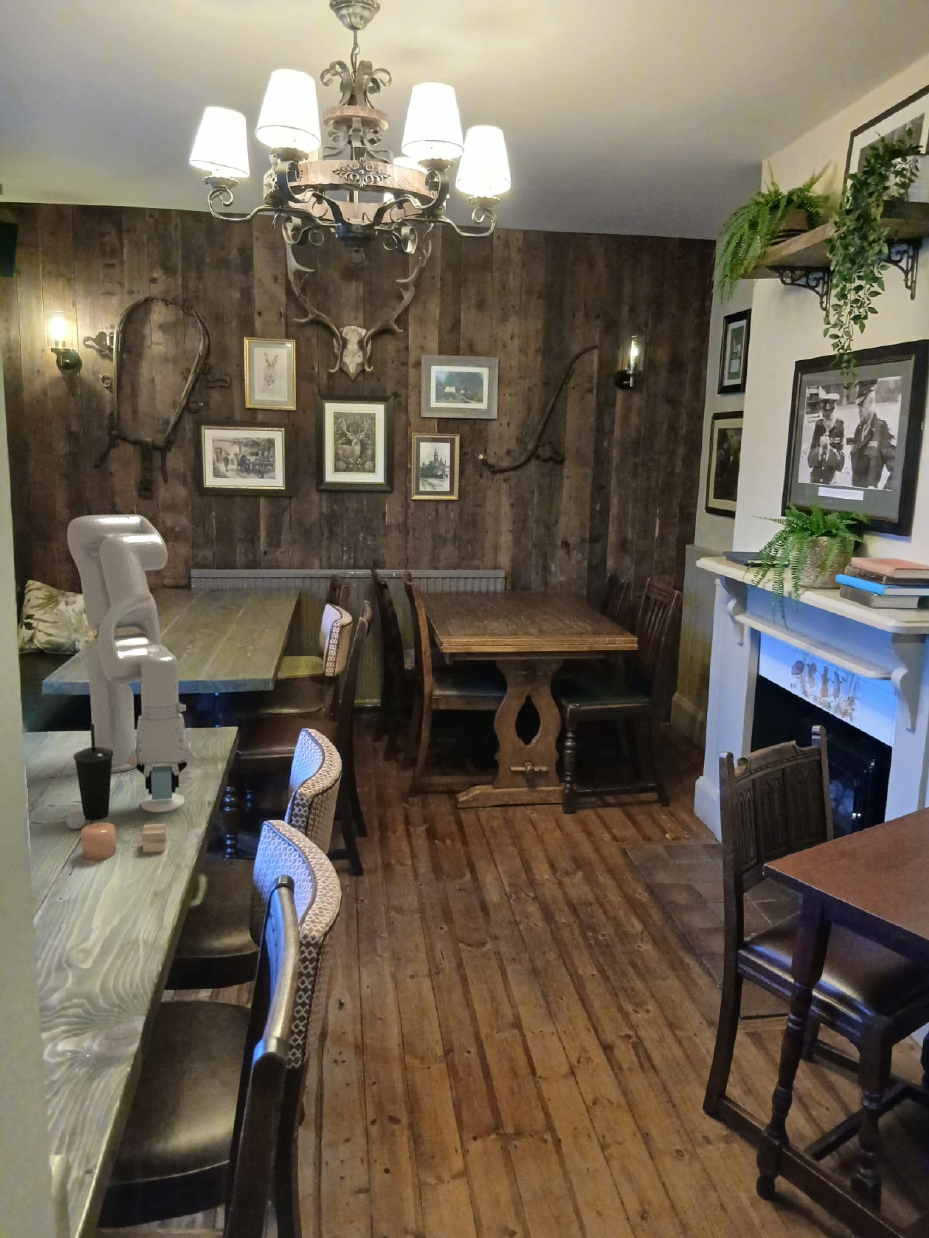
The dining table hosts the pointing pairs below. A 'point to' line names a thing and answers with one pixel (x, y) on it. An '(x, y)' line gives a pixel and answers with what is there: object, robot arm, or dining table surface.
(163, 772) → the teal block
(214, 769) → the dining table surface
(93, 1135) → the dining table surface
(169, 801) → the cream shiny round part
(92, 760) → the drinking cup
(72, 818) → the grey ball
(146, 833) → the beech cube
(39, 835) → the dining table surface
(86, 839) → the peach cylinder
